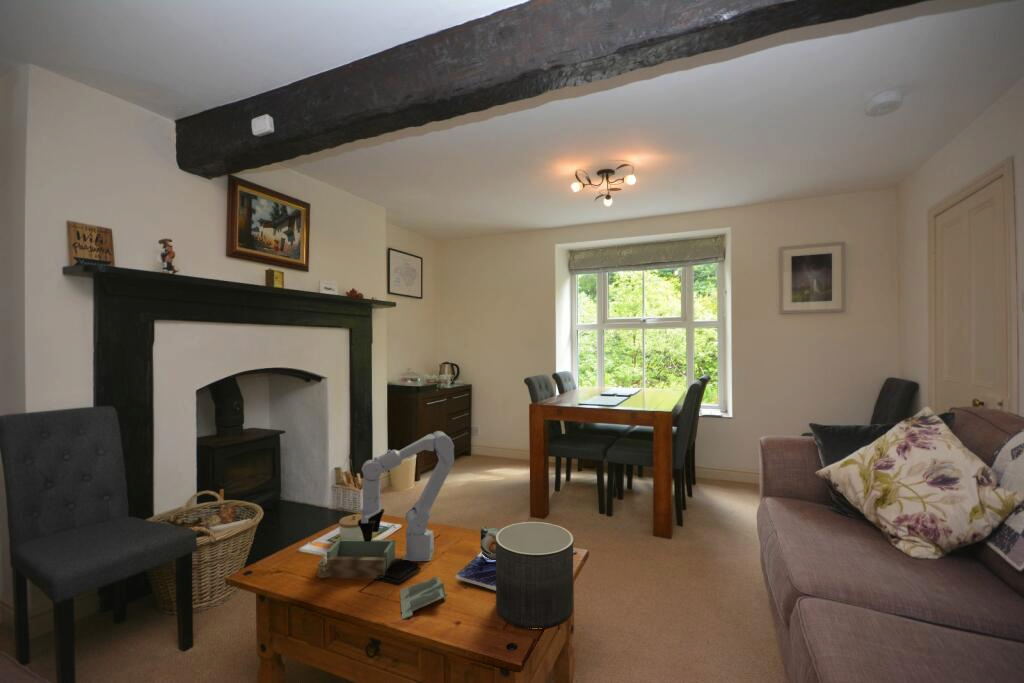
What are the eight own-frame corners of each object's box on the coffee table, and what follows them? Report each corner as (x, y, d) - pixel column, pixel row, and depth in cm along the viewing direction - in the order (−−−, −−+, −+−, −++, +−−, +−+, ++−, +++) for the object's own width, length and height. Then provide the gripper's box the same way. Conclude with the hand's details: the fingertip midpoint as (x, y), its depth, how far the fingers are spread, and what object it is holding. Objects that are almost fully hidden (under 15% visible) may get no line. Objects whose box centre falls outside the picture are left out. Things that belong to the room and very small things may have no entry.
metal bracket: (439, 567, 145) (446, 593, 130) (445, 585, 145) (452, 612, 131) (394, 587, 141) (395, 615, 127) (399, 604, 142) (401, 634, 127)
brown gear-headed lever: (386, 574, 152) (386, 555, 152) (382, 580, 148) (382, 562, 148) (321, 573, 153) (321, 554, 153) (315, 579, 149) (315, 561, 149)
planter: (551, 641, 118) (551, 562, 118) (480, 614, 130) (480, 542, 130) (585, 600, 137) (585, 531, 137) (521, 579, 148) (521, 516, 148)
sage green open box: (395, 558, 163) (395, 540, 163) (383, 577, 150) (383, 557, 150) (338, 557, 163) (338, 539, 163) (322, 576, 150) (322, 556, 150)
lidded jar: (333, 544, 174) (333, 519, 174) (348, 533, 184) (348, 509, 184) (360, 546, 172) (360, 521, 172) (373, 534, 183) (373, 510, 183)
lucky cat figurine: (527, 560, 161) (520, 533, 155) (498, 582, 156) (490, 554, 149) (503, 534, 173) (496, 507, 166) (476, 553, 167) (467, 526, 161)
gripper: (366, 489, 166) (366, 527, 166) (351, 503, 152) (352, 545, 152) (386, 489, 166) (386, 527, 166) (373, 503, 151) (373, 545, 151)
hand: (371, 536), depth 159 cm, fingers open, 7 cm apart
